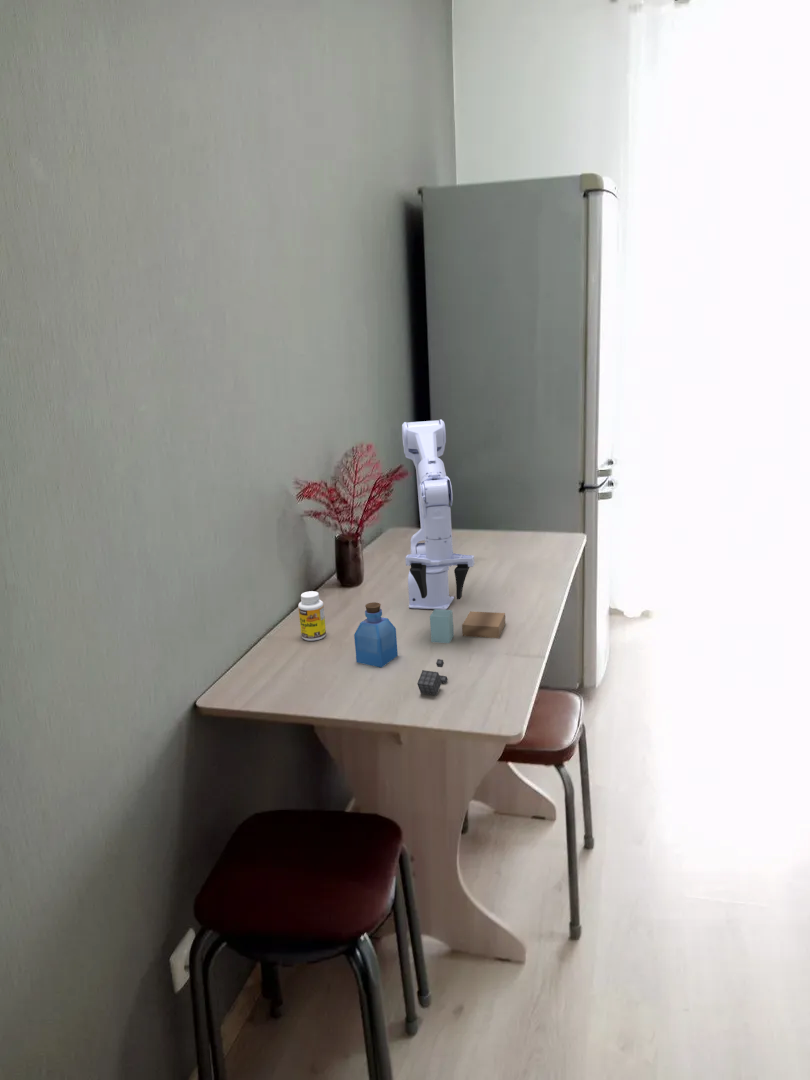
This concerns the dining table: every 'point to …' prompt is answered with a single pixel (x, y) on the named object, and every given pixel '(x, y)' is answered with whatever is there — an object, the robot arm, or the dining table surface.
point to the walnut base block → (483, 624)
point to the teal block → (441, 626)
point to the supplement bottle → (311, 616)
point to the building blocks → (431, 680)
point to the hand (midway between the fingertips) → (441, 597)
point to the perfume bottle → (375, 638)
